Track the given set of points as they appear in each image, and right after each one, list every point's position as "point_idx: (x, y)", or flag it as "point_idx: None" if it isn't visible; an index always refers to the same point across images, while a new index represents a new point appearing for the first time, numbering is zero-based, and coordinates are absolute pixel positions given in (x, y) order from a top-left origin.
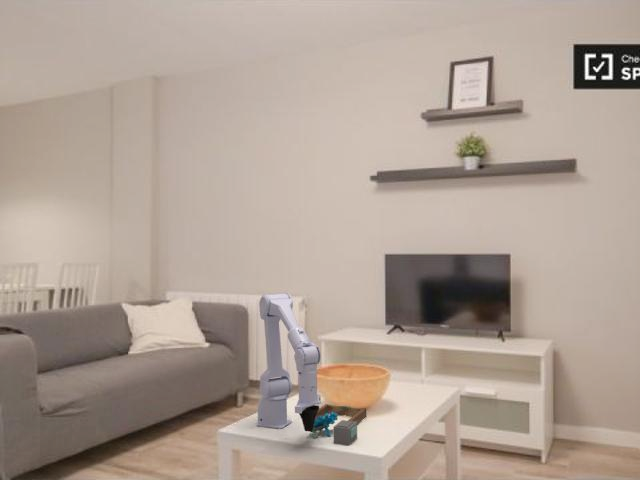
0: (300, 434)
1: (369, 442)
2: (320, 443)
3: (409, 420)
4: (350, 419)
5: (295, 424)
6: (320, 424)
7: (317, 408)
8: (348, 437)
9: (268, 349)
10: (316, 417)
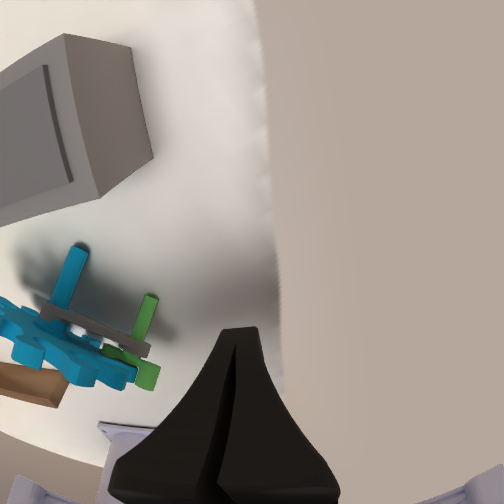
0: (162, 371)
1: (36, 3)
2: (203, 232)
3: None
4: None
5: (100, 410)
6: (70, 339)
7: (175, 488)
8: (106, 45)
9: None
10: (22, 378)
